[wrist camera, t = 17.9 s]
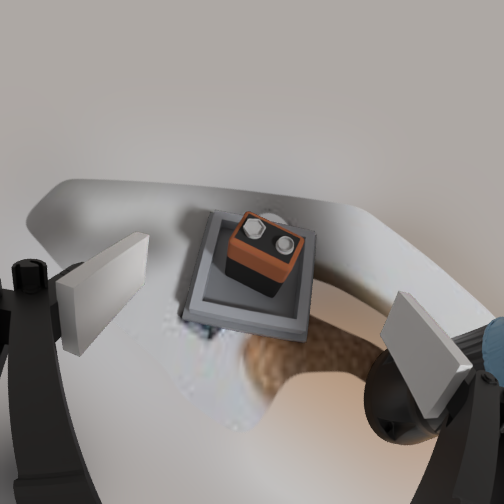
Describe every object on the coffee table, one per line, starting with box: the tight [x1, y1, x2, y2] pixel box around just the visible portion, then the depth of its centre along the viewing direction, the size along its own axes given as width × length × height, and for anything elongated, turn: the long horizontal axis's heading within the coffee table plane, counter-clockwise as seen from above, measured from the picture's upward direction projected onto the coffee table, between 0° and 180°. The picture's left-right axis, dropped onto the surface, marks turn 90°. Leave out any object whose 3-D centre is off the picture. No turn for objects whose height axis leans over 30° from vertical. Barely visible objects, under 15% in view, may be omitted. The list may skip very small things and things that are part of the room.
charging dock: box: [182, 210, 316, 343], centre depth 37 cm, size 15×15×3 cm
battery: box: [225, 211, 304, 298], centre depth 33 cm, size 4×7×10 cm, turn 64°
